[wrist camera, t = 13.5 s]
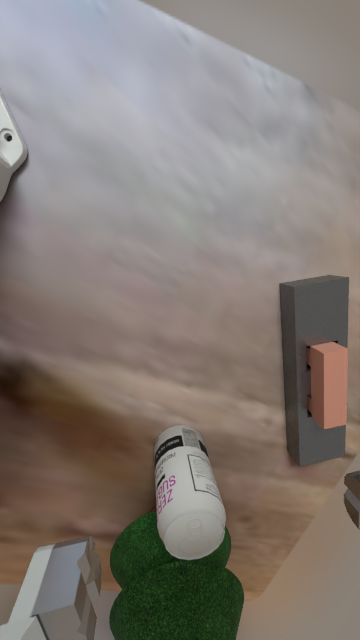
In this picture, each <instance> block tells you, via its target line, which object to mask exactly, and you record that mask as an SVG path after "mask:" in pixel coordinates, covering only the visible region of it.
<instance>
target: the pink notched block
mask: <svg viewBox="0 0 360 640" xmlns="http://www.w3.org/2000/svg"><path fill="white" fill-rule="evenodd" d="M306 364H308V365H309V366H311V395H307V409H308V410H309V411H310V412H311V413H312V418H313V419H314V420H315V421H316V422H317V423H318V424H319V425H320V426H321V427H322V428H323V429H328V428H333V427H337V426H342V425H346V420H347V374H348V349H347V348H345V347H343V346H341V345H339V344H337V343H335V342H328V343H322V344H317V345H312V346H306Z"/></svg>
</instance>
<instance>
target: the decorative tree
mask: <svg viewBox="0 0 360 640" xmlns="http://www.w3.org/2000/svg"><path fill="white" fill-rule="evenodd" d="M224 530H225V534H224V538H223V541H222V542H221V544H220V545H219V547H218V548H217V549H216V550H214V551H213V552H212V553H211V554H209V555H207V556H204V557H202V558H200V559H193V560H185V559H179V558H177V557H175V556H173V555H171V554H170V553H169V552H168V551H167V549H166V548H165V544H164V542H163V541H162V539H161V538H160V535H159V532H158V528H157V508H156V507H155V508H153V509H152V511H151V512H150V513H148V514H146V515H144V516H142V517H140V518H139V519H137V520H135V521H134V522H133V523H131V524H130V525H129V526H128V527H127V528H126V529H125V530H124V531H123V532H122V533H121V534H120V535H119V537H118V538H117V540H116V542H115V543H114V546H113V548H112V551H111V556H110V567H111V571H112V574H113V576H114V578H115V579H116V581H117V582H118V584H119V585H120V587H121V588H122V591H121V592H120V594H119V595H118V597H117V598H116V600H115V601H114V604H113V606H112V608H111V612H110V628H111V631H112V634H113V636H114V638H115V640H236V634H237V631H238V626H239V621H240V617H241V612H242V608H243V602H244V592H243V588H242V585H241V583H240V581H239V580H238V578H237V577H236V576H235V575H234V574H233V573H232V572H231V571H229V570H228V569H226V568H225V566H226V564H227V561H228V558H229V555H230V551H231V539H230V535H229V532H228V530H227V528H226V526H225V528H224Z"/></svg>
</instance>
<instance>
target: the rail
mask: <svg viewBox="0 0 360 640" xmlns="http://www.w3.org/2000/svg"><path fill="white" fill-rule="evenodd" d="M348 295H349V277H341V276H333V275H327V276H321V277H315V278H309V279H303V280H297V281H292V282H286V283H280V303H281V325H282V346H283V367H284V389H285V410H286V431H287V449H288V451H289V452H290V454H291V455H292V456H293V458H294V459H295V460H296V462H297V463H298V465H299V466H304V465H308V464H313V463H317V462H321V461H325V460H330V459H334V458H338V457H343V456H345V430H346V425H342V426H337V427H333V428H328V429H323V428H322V427H321V426H320V425H319V424H318V423H317V422H316V421H315V420H314V419H313V418H312V413H311V412H310V411H309V410H308V409H307V395H311V366H309V365H308V364H306V346H312V345H317V344H322V343H328V342H335V343H337V344H339V345H341V346H343V347H345V348H347V340H348Z"/></svg>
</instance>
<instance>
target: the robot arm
mask: <svg viewBox="0 0 360 640" xmlns="http://www.w3.org/2000/svg"><path fill="white" fill-rule="evenodd" d="M8 136H12V140H11V141H10V142H8V141H7V138H8ZM26 157H27V148H26V145H25V143H24V141H23V138H22V136H21V134H20V132H19V130H18V127H17V125H16V123H15V121H14V119H13V116H12V114H11V112H10V110H9V108H8V105H7V103H6V101H5V99H4V97H3V94H2V92H1V90H0V202H1V200H2V199H3V197H4V195H5V193H6V190H7V187H8V184H9V181H10V178H11V176H12V174H13V173H14V172H15V171H16V170H17V169H18V168H19V167H20V166H21V165H22V163H23V162H24V161H25V159H26ZM344 478H345V479H344V484H345V485H346V486H347V487H348V489H347V491H346V492H345V494H344V504H345V507H346V509H347V512H348V514H349V516H350V517H351V519H352V521H353V522H354V524H355V525H356V526H357V528H358V529H359V530H360V471H356V472H352V473H349V474H346V476H345V477H344ZM94 546H95V543H94V540H93V537H92V536H88V537H84V538H79V539H74V540H69V541H64V542H59V543H55V544H50V545H46V546H42V547H38V548H37V550H36V551H35V553H34V554H33V557H32V559H31V562H30V565H29V567H28V570H27V573H26V575H25V578H24V581H23V583H22V586H21V589H20V592H19V594H18V597H17V599H16V602H15V605H14V608H13V610H12V613H11V616H10V618H9V621H8V623H6V624H3V625H1V626H0V640H94V633H95V626H96V618H97V617H96V614H95V611H94V608H93V606H94V605H95V603H96V601H97V599H98V598H99V596H100V588H101V564H100V559H99V556H98V554H96V553H94Z"/></svg>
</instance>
